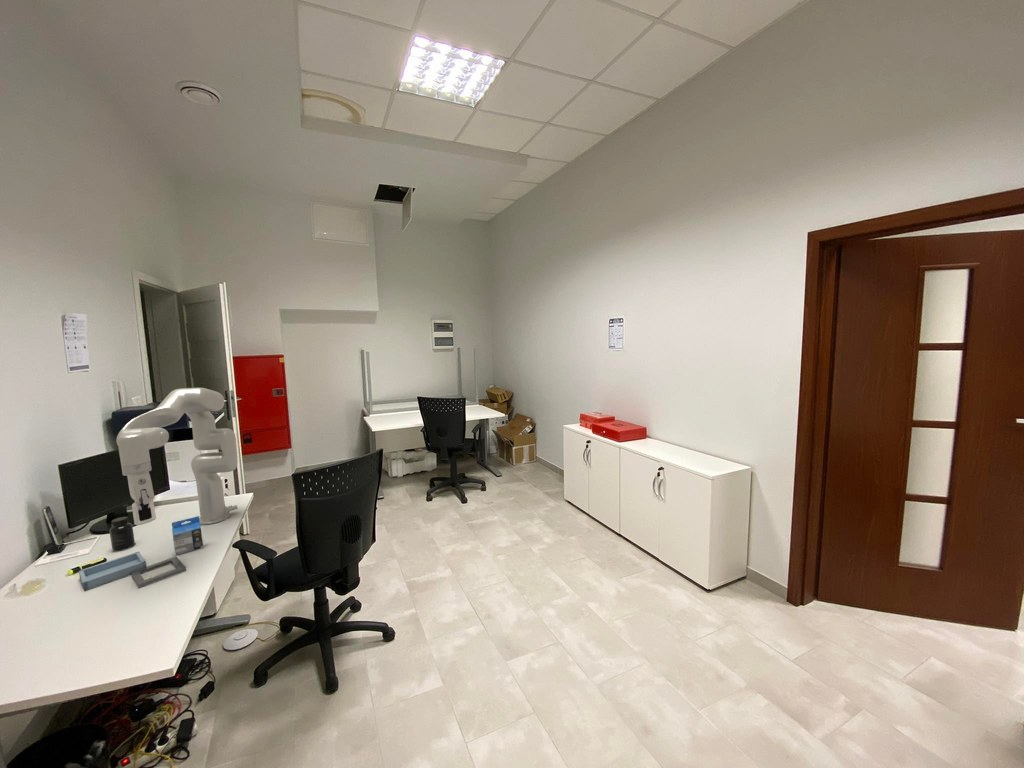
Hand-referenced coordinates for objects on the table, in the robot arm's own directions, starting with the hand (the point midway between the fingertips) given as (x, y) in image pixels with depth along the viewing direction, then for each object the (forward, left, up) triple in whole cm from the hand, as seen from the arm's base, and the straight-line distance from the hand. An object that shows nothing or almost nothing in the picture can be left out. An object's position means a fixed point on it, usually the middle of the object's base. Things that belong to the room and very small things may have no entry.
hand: (144, 517), depth 145 cm
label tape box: (-13, -9, -21) cm, 26 cm away
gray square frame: (-1, +2, -21) cm, 21 cm away
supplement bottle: (+3, -35, -21) cm, 41 cm away
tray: (+9, -11, -21) cm, 25 cm away
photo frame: (+17, -50, -22) cm, 57 cm away
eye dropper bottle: (0, 0, -2) cm, 2 cm away
